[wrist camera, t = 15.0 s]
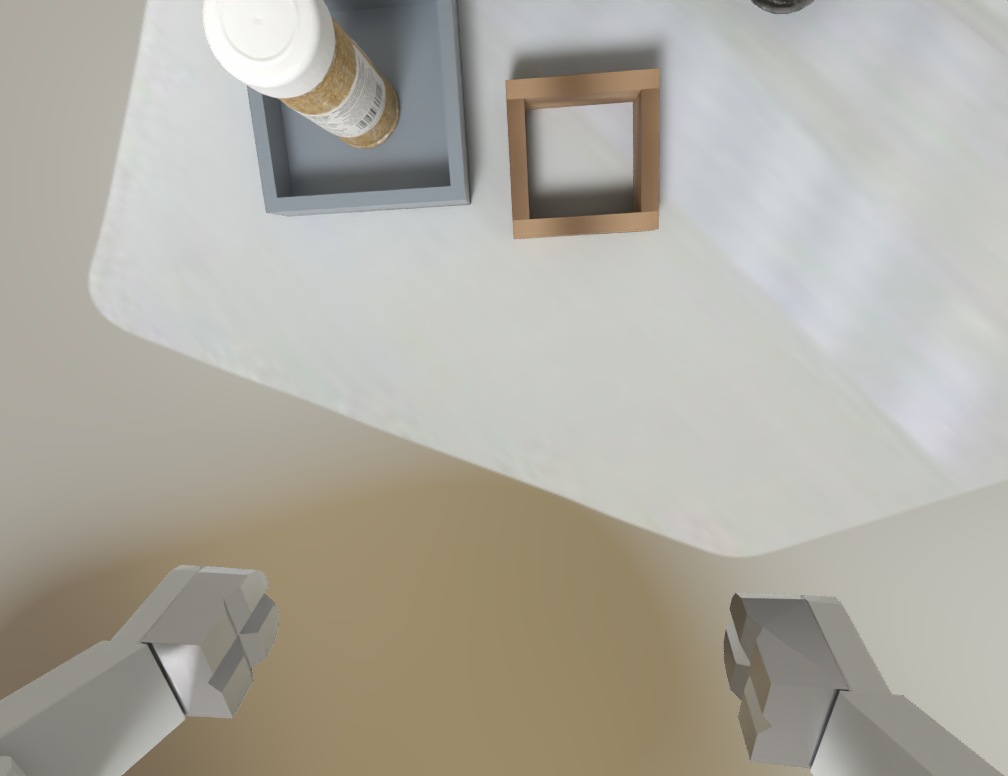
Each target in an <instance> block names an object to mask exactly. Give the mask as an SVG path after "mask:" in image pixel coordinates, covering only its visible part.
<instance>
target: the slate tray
mask: <svg viewBox="0 0 1008 776" xmlns="http://www.w3.org/2000/svg"><path fill="white" fill-rule="evenodd" d="M323 1H324V2H325V4H326V6H327V8H328V10H329V12H330V15H331V16H332V17H333V18H334V19H335V20H336V22H337V23H338V24H339V26H340V27H341V28H342V29H343V30H344V31H345V32H346V33H347V35H348V36H349V37H350V38H351V39H352V40H354V41H355V42H356V43H357V45H358V46H359V47H360V48H361V49H362V51H363V52H364V53H365V54H366V55H367V57H368V58H369V59H370V60H371V62H372V63H373V66H374V67H375V69H376V70H377V71H378V72H379V73H380V74H382V75H383V76H384V77H385V78H386V79H387V80H388V81H389V82H390V84H391V85H392V86H393V88H394V90H395V93H396V96H397V98H398V104H399V119H398V122H397V126H396V128H395V130H394V131H393V133H392V135H391V136H390V137H389V138H388V139H387V140H386V141H385V142H384V143H383V144H381V145H379V146H376V147H374V148H369V149H358V148H355V147H353V146H350V145H348V144H346V143H344V142H343V141H342V140H341V139H340V138H339V137H338V136H337V135H334V134H332V133H330V132H328V131H327V130H325V129H323V128H322V127H320V126H319V125H317V124H316V123H314V122H312V121H311V120H309V119H308V118H306V117H304V116H303V115H301V114H299V113H298V112H296V111H294V110H293V109H291V108H290V107H288V106H287V105H286V104H284V103H283V102H282V101H281V100H279V99H277V98H274V97H270V96H267V95H264V94H262V93H260V92H258V91H256V90H254V89H252V88H251V87H249V86H248V85H247V90H248V97H249V103H250V110H251V117H252V123H253V130H254V136H255V143H256V150H257V156H258V163H259V169H260V176H261V183H262V189H263V196H264V202H265V209H266V213H271V214H276V215H282V216H301V215H317V214H332V213H347V212H363V211H378V210H393V209H409V208H424V207H439V206H455V205H470V204H471V202H470V188H469V173H468V159H467V144H466V129H465V115H464V100H463V86H462V71H461V56H460V42H459V27H458V13H457V0H323Z"/></svg>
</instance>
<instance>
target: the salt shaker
mask: <svg viewBox="0 0 1008 776" xmlns="http://www.w3.org/2000/svg"><path fill="white" fill-rule="evenodd" d="M813 1H814V0H752V2H753V3H754V4H755V5H757V6H758V7H760V8H761V9H763V10H764V11H768V12H771V13H774V14H788V13H792V12H795V11H799V10H801V9H802V8H804V7H806V6H807V5H809V4H811V3H812V2H813Z"/></svg>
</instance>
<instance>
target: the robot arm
mask: <svg viewBox="0 0 1008 776" xmlns="http://www.w3.org/2000/svg"><path fill="white" fill-rule="evenodd" d="M268 586H269V583H268V581H267V578H266V576H265V573H264V572H263V571H258V570H248V569H235V568H223V567H210V566H206V567H205V566H190V565H180V566H179V567H177V568H175V569H173V570H171V571H170V573H169V574H168V575H167V576H166V577H165V578H164V579H163V581H162V582H161V583H160V584H159V585H158V586H157V588H156V589H155V590H154V591H153V592H152V593H151V594H150V596H149V597H148V598H147V599H146V600H145V601H144V602H143V604H142V605H141V606H140V607H139V608H138V610H137V611H136V612H135V613H134V614H133V615H132V616H131V618H130V619H129V620H128V621H127V622H126V623H125V625H124V626H123V627H122V628H121V629H120V630H119V632H118V633H117V634H116V635H115V636H114V637H113V638H112V639H111V641H101V642H99V643H97V644H96V645H94V646H92V647H90V648H89V649H87V650H85V651H84V652H82V653H80V654H79V655H77V656H75V657H74V658H72V659H70V660H68V661H67V662H65V663H63V664H62V665H60V666H58V667H57V668H55V669H53V670H52V671H50V672H48V673H46V674H45V675H43V676H41V677H39V678H38V679H36V680H35V681H33V682H31V683H29V684H28V685H26V686H24V687H22V688H21V689H19V690H17V691H16V692H14V693H12V694H11V695H9V696H7V697H5V698H4V699H2V700H0V776H121V775H122V774H123V773H125V772H126V771H127V770H128V769H129V768H130V767H131V766H133V765H134V764H135V763H136V762H137V761H138V760H139V759H141V758H142V757H143V756H144V755H145V754H146V753H147V752H148V751H150V750H151V749H152V748H153V747H154V746H155V745H156V744H157V743H159V742H160V741H161V740H162V739H163V738H164V737H166V736H167V735H168V734H169V733H170V732H171V731H172V730H173V729H175V728H176V727H177V726H178V725H179V724H180V723H181V722H183V721H184V720H185V716H203V717H221V718H233V717H234V715H235V714H236V712H237V710H238V708H239V706H240V705H241V703H242V701H243V699H244V697H245V696H246V694H247V692H248V690H249V688H250V687H251V685H252V683H253V681H254V679H253V672H252V668H253V667H254V666H256V665H257V664H258V663H260V662H261V661H262V660H263V659H265V658H266V657H267V656H268V654H269V652H270V650H271V648H272V646H273V644H274V642H275V639H276V635H277V630H278V626H279V615H278V610H277V606H276V604H275V602H274V601H273V600H272V599H270V598H269V597H268V596H267V595H266V594H265V591H266V589H267V588H268ZM730 612H731V615H732V619H733V623H731V624H730V625H729V626H728V627H726V630H725V636H724V642H723V643H724V663H725V669H726V674H727V678H728V682H729V686H730V689H731V691H732V692H733V693H734V694H735V695H736V696H737V697H738V698H739V699H740V700H741V705H740V710H739V714H738V719H739V723H740V727H741V730H742V734H743V738H744V741H745V745H746V748H747V752H748V755H749V759H750V761H751V762H759V763H767V764H775V765H784V766H793V767H803V768H811V771H810V772H811V773H812V774H813V776H1004V775H1002V774H1001V773H1000V772H999V771H997V770H996V769H995V768H994V767H992V766H991V765H990V764H989V763H987V762H986V761H985V760H984V759H982V758H981V757H980V756H979V755H977V754H976V753H975V752H974V751H972V750H971V749H970V748H969V747H967V746H966V745H965V744H964V743H962V742H961V741H960V740H958V739H957V738H956V737H955V736H954V735H952V734H951V733H950V732H948V731H947V730H946V729H945V728H944V727H942V726H941V725H940V724H939V723H937V722H936V721H935V720H934V719H932V718H931V717H930V716H929V715H927V714H926V713H925V712H924V711H922V710H921V709H919V707H917V706H916V705H915V704H914V703H912V702H911V701H909V699H907V698H906V697H904V696H903V695H894V694H892V693H891V691H890V690H889V688H888V686H887V684H886V682H885V680H884V679H883V677H882V675H881V673H880V671H879V670H878V668H877V666H876V664H875V662H874V661H873V659H872V657H871V655H870V653H869V652H868V650H867V648H866V646H865V644H864V642H863V641H862V639H861V637H860V635H859V633H858V632H857V630H856V628H855V626H854V624H853V623H852V621H851V619H850V617H849V616H848V613H847V612H846V610H845V608H844V606H843V605H842V603H841V602H840V601H839V600H838V599H837V598H836V597H827V596H805V595H801V596H798V595H785V594H758V593H757V594H756V593H735V594H734V595H733V597H732V600H731V604H730Z"/></svg>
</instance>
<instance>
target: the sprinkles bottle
mask: <svg viewBox="0 0 1008 776" xmlns="http://www.w3.org/2000/svg"><path fill="white" fill-rule="evenodd" d="M203 24H204V30H205V34H206V37H207V40H208V42H209V45H210V47H211V49H212V51H213V53H214V55H215V57H216V58H217V59H218V61H219V62H220V63H221V64H222V66H223V67H224V68H225V69H226V70H227V71H228V72H229V73H230V74H232V75H233V76H234V77H235V78H237V79H238V80H240V81H241V82H243V83H244V84H246V85H248V86H249V87H251V88H252V89H254V90H256V91H258V92H260V93H262V94H264V95H267V96H270V97H274V98H277V99H279V100H281V101H282V102H283V103H284V104H286V105H287V106H288V107H290V108H291V109H293V110H294V111H296V112H298V113H299V114H301V115H303V116H304V117H306V118H308V119H309V120H311V121H312V122H314V123H316V124H317V125H319V126H320V127H322V128H323V129H325V130H327V131H328V132H330V133H332V134H334V135H337V136H338V137H339V138H340V139H341V140H342V141H343V142H344V143H346V144H348V145H350V146H353V147H355V148H358V149H369V148H374V147H376V146H379V145H381V144H383V143H384V142H385V141H386V140H387V139H388V138H389V137H390V136H391V135H392V133H393V131H394V130H395V128H396V126H397V122H398V119H399V104H398V98H397V96H396V93H395V90H394V88H393V86H392V85H391V84H390V82H389V81H388V80H387V79H386V78H385V77H384V76H383V75H382V74H380V73H379V72H378V71H377V70H376V69H375V67H374V66H373V63H372V62H371V60H370V59H369V58H368V57H367V55H366V54H365V53H364V52H363V51H362V49H361V48H360V47H359V46H358V45H357V43H356V42H355V41H354V40H352V39H351V38H350V37H349V36H348V35H347V33H346V32H345V31H344V30H343V29H342V28H341V27H340V26H339V24H338V23H337V22H336V20H335V19H334V18H333V17H332V16H331V15H330V12H329V10H328V8H327V6H326V4H325V2H324V1H323V0H204V2H203Z"/></svg>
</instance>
